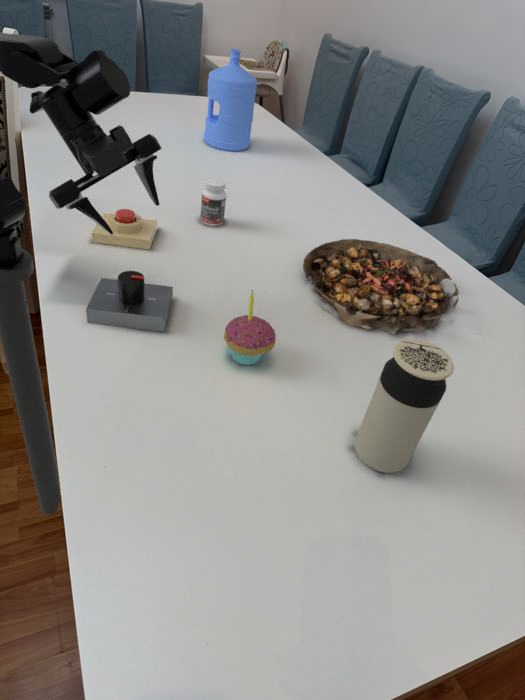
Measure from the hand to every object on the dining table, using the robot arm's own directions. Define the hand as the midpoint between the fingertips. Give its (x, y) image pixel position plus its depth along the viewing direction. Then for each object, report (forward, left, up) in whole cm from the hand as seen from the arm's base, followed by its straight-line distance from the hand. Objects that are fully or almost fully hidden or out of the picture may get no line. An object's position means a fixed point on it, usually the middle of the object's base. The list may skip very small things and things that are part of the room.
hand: (135, 219), depth 83 cm
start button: (-7, +23, -12) cm, 27 cm away
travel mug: (+41, -32, -16) cm, 54 cm away
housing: (-7, +23, -16) cm, 29 cm away
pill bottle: (+11, +36, -16) cm, 41 cm away
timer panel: (0, -5, -16) cm, 16 cm away
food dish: (+49, +14, -16) cm, 53 cm away
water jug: (+11, +98, -16) cm, 100 cm away
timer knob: (0, -5, -13) cm, 13 cm away
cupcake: (+21, -14, -16) cm, 30 cm away
